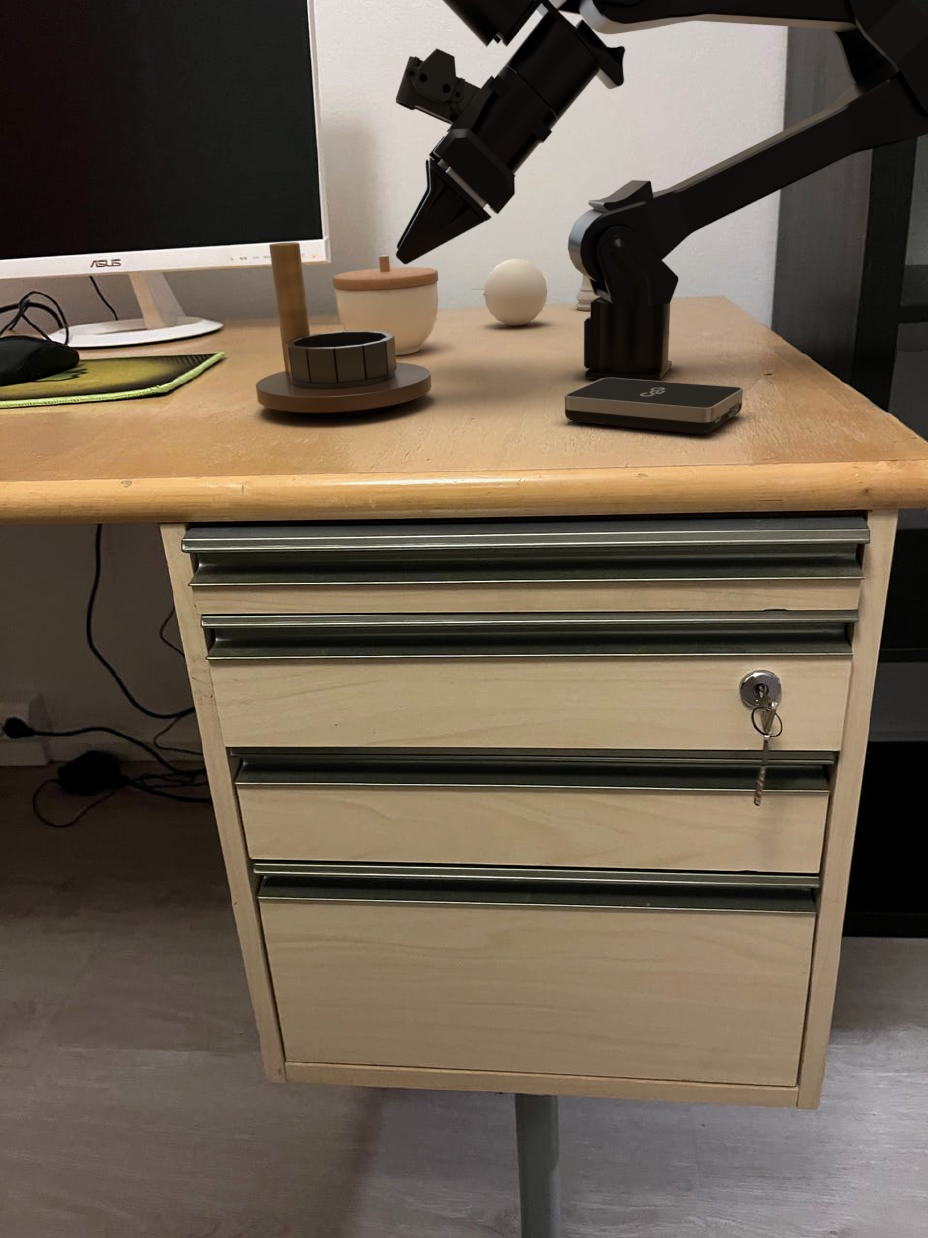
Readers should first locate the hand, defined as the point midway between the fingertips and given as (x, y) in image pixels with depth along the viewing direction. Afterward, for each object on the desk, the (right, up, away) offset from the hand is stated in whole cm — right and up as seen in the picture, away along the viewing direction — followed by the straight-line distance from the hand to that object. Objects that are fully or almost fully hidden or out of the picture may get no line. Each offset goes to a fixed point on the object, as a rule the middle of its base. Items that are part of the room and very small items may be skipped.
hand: (400, 255), depth 78 cm
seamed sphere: (+11, +5, +35) cm, 37 cm away
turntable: (-4, -11, -1) cm, 12 cm away
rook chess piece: (+22, +9, +43) cm, 49 cm away
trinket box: (-2, -2, +22) cm, 22 cm away
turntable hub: (-4, -12, -1) cm, 13 cm away
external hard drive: (+19, -16, -10) cm, 26 cm away
